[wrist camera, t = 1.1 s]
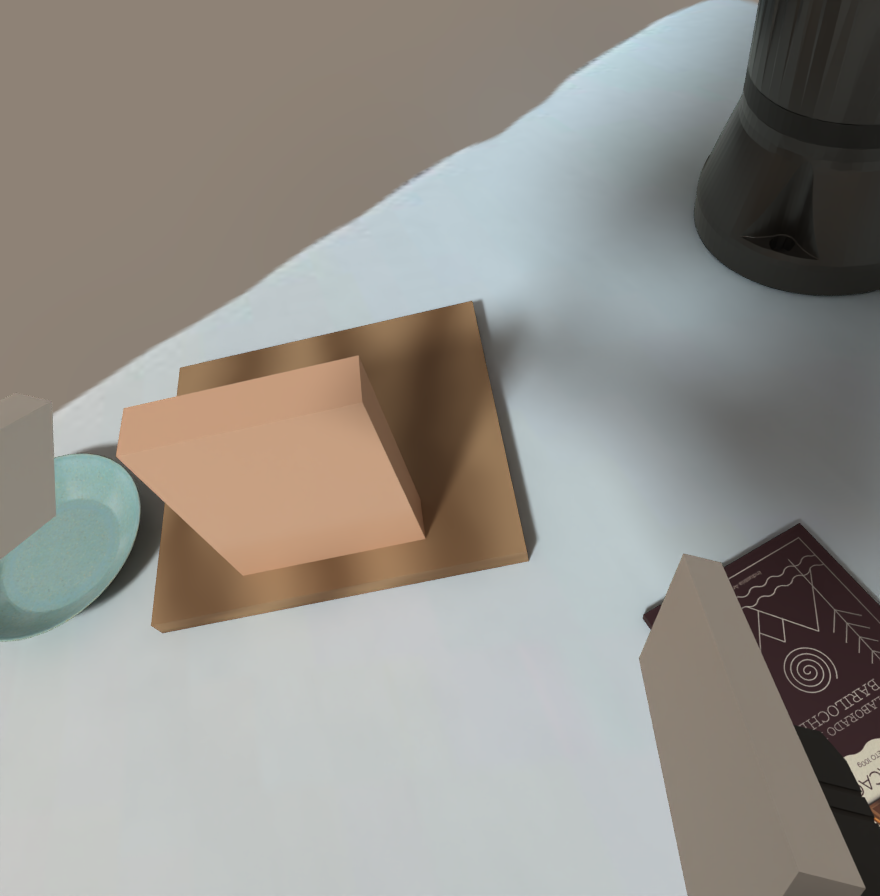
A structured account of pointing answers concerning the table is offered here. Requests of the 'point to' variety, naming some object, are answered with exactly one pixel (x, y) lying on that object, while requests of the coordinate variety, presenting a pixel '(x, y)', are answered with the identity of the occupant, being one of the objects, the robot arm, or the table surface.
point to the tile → (278, 466)
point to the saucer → (70, 547)
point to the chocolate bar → (816, 645)
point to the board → (422, 448)
